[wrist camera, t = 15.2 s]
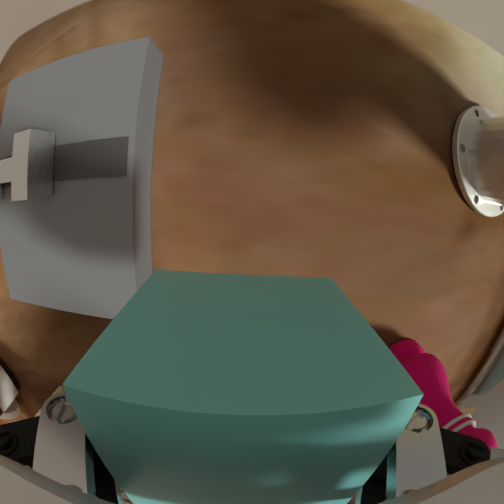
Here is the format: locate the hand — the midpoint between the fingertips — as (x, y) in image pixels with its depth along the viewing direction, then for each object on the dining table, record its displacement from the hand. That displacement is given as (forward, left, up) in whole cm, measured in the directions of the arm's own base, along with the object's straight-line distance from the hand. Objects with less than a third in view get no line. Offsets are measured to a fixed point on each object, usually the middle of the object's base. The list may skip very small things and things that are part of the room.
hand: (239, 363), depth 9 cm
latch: (+21, -8, -10) cm, 24 cm away
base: (+16, -6, -14) cm, 22 cm away
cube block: (0, 0, -1) cm, 1 cm away
